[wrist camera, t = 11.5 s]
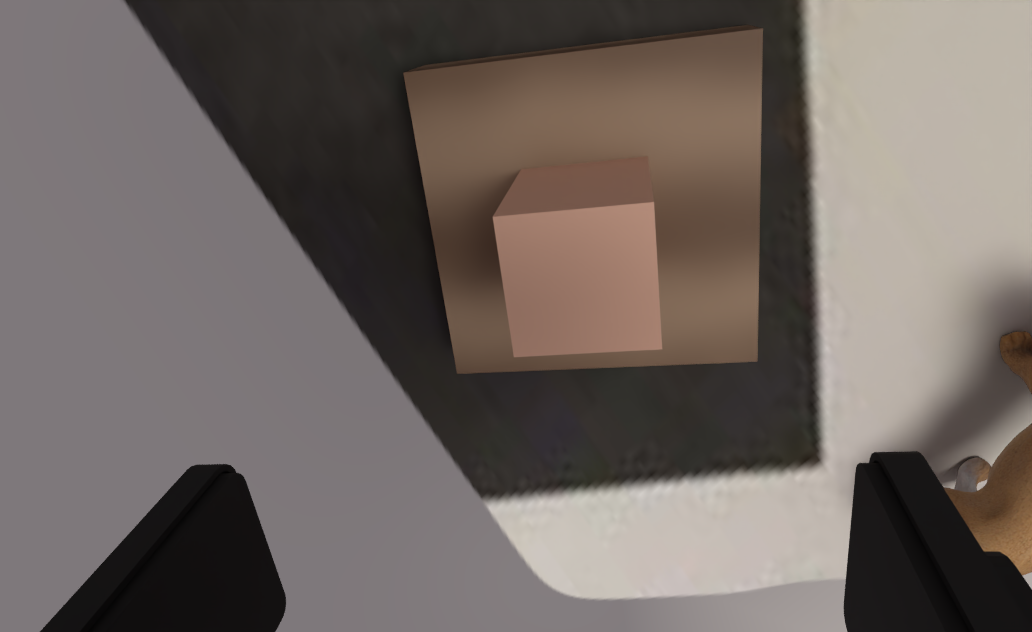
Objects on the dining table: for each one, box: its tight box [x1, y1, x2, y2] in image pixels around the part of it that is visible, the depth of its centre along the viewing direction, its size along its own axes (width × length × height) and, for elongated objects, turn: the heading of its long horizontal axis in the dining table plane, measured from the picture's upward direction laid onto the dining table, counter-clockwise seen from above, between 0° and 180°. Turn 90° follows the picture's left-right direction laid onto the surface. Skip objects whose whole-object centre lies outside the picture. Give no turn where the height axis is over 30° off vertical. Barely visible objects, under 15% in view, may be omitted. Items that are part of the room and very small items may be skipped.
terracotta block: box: [493, 156, 662, 357], centre depth 23 cm, size 4×4×6 cm
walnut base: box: [403, 25, 763, 374], centre depth 27 cm, size 12×12×3 cm
